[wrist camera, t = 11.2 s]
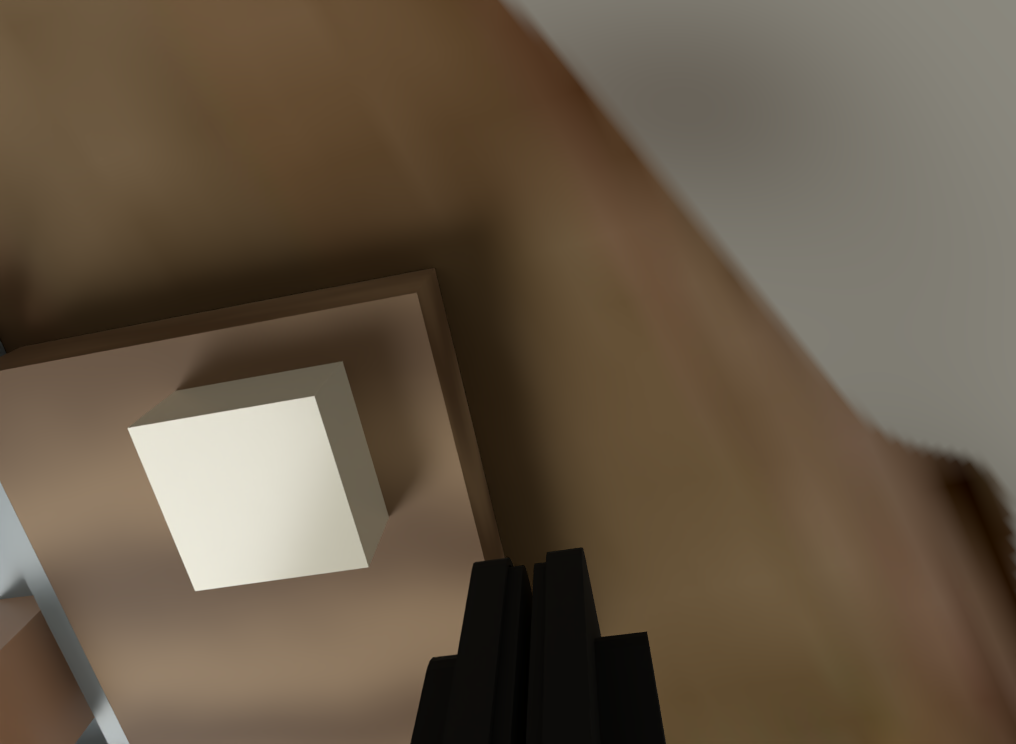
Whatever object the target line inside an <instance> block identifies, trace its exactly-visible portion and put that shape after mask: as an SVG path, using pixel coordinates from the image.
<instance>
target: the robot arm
mask: <svg viewBox="0 0 1016 744" xmlns="http://www.w3.org/2000/svg"><path fill="white" fill-rule="evenodd" d="M410 744H666V742H665V736H664V729H663V723H662V717H661V711H660V705H659V699H658V693H657V688H656V682H655V676H654V670H653V664H652V658H651V652H650V647H649V641H648V635H647V632H640V633H632V634H623V635H615V636H606V637H601V634H600V629H599V624H598V619H597V614H596V609H595V604H594V599H593V594H592V589H591V584H590V579H589V574H588V569H587V564H586V559H585V554H584V551H583V548H575V549H567V550H560V551H553V552H547V555H546V562H544V563H537V564H534V575H533V596H532V592H531V587H530V583H529V579H528V575H527V571H526V568H525V566H524V565H522V566H515V567H513V564H512V561H511V559H510V558H501V559H494V560H487V561H479V562H475V563H473V566H472V571H471V577H470V583H469V589H468V595H467V600H466V606H465V612H464V618H463V624H462V629H461V635H460V641H459V647H458V653H457V654H456V655H447V656H439V657H432V659H431V660H430V661H429V664H428V667H427V670H426V674H425V679H424V683H423V688H422V693H421V697H420V702H419V706H418V711H417V715H416V720H415V725H414V729H413V734H412V738H411V743H410Z"/></svg>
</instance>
